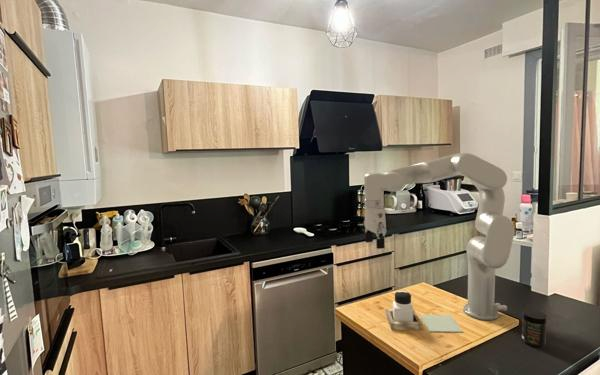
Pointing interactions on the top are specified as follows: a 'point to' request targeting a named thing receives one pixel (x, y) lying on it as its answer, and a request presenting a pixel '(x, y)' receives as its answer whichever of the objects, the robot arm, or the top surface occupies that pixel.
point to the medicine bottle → (403, 307)
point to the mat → (440, 323)
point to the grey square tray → (403, 325)
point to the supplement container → (534, 328)
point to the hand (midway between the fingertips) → (374, 245)
